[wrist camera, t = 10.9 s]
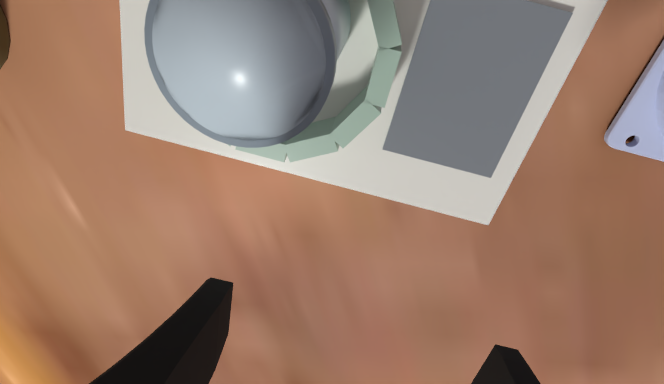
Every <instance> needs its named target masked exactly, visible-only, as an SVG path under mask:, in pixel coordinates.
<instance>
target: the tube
mask: <svg viewBox="0 0 664 384" xmlns="http://www.w3.org/2000/svg"><path fill="white" fill-rule="evenodd" d="M350 24H351V13H350V6H349V2H348V0H150V1H149V4H148V8H147V12H146V17H145V27H144V37H145V48H146V55H147V58H148V62H149V66H150V69H151V72H152V74H153V77H154V79H155V81H156V83H157V85H158V87H159V89H160V91H161V92H162V94H163V96H164V97H165V99H166V100H167V102H168V103H169V104H170V105H171V107H172V108H173V109H174V110H175V111H176V112H177V113H178V114H179V115H180V116H181V117H182V118H183V119H184V120H185V121H186V122H187V123H188V124H190V125H191V126H192V127H193V128H195V129H196V130H198V131H199V132H201V133H203V134H204V135H206V136H208V137H210V138H212V139H214V140H217V141H219V142H222V143H225V144H229V145H233V146H238V147H245V148H260V147H268V146H272V145H276V144H280V143H282V142H284V141H287V140H289V139H291V138H293V137H294V136H296V135H298V134H299V133H300V132H302V131H303V130H304V129H306V128H307V127H308V126H309V125H310V124H311V123H312V122H313V120H314V119H315V118H316V117H317V115H318V114H319V112H320V111H321V109H322V107H323V106H324V104H325V102H326V100H327V97H328V95H329V93H330V90H331V87H332V85H333V82H334V77H335V73H336V64H337V60H338V58H339V56H340V54H341V52H342V50H343V48H344V46H345V44H346V42H347V39H348V36H349V31H350Z"/></svg>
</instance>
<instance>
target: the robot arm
mask: <svg viewBox="0 0 664 384" xmlns="http://www.w3.org/2000/svg"><path fill="white" fill-rule="evenodd" d="M630 136H635V137H634V140H633V141H631V142H629V143H625V142H626V139H627V138H629V137H630ZM604 140H605V142H606V143H607V144H608V145H609V146H610V147H612V148H614V149H618V150H622V151H626V152H630V153H633V154H637V155H641V156H645V157H649V158H652V159H656V160H660V161H664V40H663V42H662V43H661V45H660V46H659V48H658V50H657V51H656V53H655V54H654V56H653V58H652V59H651V61H650V62H649V64H648V66H647V67H646V69H645V70H644V72H643V74H642V75H641V77H640V78H639V80H638V82H637V83H636V85H635V86H634V88H633V90H632V91H631V93H630V94H629V96H628V98H627V99H626V101H625V102H624V104H623V106H622V107H621V109H620V110H619V112H618V114H617V115H616V117H615V118H614V120H613V122H612V123H611V125H610V126H609V128H608V130H607V131H606V133H605V136H604ZM232 291H233V283H232V282H228V281H223V280H219V279H215V278H210V279H208V280H206V281H205V282H204V284H203V285H202V286H201V287H200V288H199V289H198V290H197V291H196V292H195V293H194V294H193V295H192V296H191V297H190V298H189V299H188V300H187V301H186V302H185V303H184V304H183V305H182V306H181V307H180V308H179V309H178V310H177V311H176V312H175V313H174V314H173V315H172V316H171V317H169V318H168V319H167V320H166V321H165V322H164V323H163V324H162V325H161V326H160V327H158V328H157V329H156V330H155V331H154V332H153V333H152V334H151V335H150V336H148V337H147V338H146V339H145V340H144V341H143V342H141V343H140V344H139V345H138V346H136V347H135V348H134V349H133V350H132V351H130V352H129V353H128V354H127V355H126V356H124V357H123V358H122V359H121V360H119V361H118V362H117V363H116V364H114V365H113V366H112V367H111V368H109V369H108V370H107V371H105V372H104V373H103V374H101V375H100V376H99V377H97V378H96V379H95V380H93V381H92V382H91V383H89V384H209V381H210V379H211V377H212V375H213V373H214V371H215V369H216V366H217V363H218V361H219V358H220V355H221V352H222V350H223V347H224V344H225V341H226V338H227V336H228V331H229V321H230V311H231V301H232ZM471 384H540V382H539V381H538V379H537V378H536V376H535V375H534V373H533V372H532V370H531V369H530V367H529V366H528V364H527V363H526V361H525V360H524V358H523V357H522V355H521V354H520V352H519V351H518V350H516V349H512V348H508V347H504V346H500V345H495V346H494V348H493V349H492V351H491V352H490V354H489V356H488V357H487V359H486V361H485V362H484V364H483V365H482V367H481V369H480V370H479V372H478V373H477V375H476V377H475V378H474V380H473V382H472V383H471Z"/></svg>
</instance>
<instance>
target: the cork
mask: <svg viewBox="0 0 664 384" xmlns="http://www.w3.org/2000/svg"><path fill="white" fill-rule="evenodd" d="M9 45H10V37H9V31H8V25H7V20H6V17H5V15H4V13H3V11H2V8H1V6H0V69H1V67H2V66H3V64H4V63H5V61H6V60H7V58H8V51H9Z"/></svg>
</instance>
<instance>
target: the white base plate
mask: <svg viewBox="0 0 664 384" xmlns="http://www.w3.org/2000/svg"><path fill="white" fill-rule="evenodd" d="M149 1H150V0H120V21H121V44H122V67H123V90H124V113H125V130H127V131H131V132H134V133H138V134H142V135H146V136H150V137H153V138H157V139H161V140H165V141H169V142H173V143H176V144H180V145H184V146H188V147H192V148H195V149H199V150H203V151H207V152H211V153H215V154H218V155H222V156H226V157H230V158H234V159H237V160H241V161H245V162H249V163H253V164H256V165H260V166H264V167H268V168H272V169H276V170H279V171H283V172H287V173H291V174H295V175H298V176H302V177H306V178H310V179H314V180H318V181H321V182H325V183H329V184H333V185H337V186H340V187H344V188H348V189H352V190H356V191H359V192H363V193H367V194H371V195H375V196H379V197H382V198H386V199H390V200H394V201H398V202H401V203H405V204H409V205H413V206H417V207H420V208H424V209H428V210H432V211H436V212H440V213H443V214H447V215H451V216H455V217H459V218H462V219H466V220H470V221H474V222H478V223H482V224H485V225H489V223H490V221H491V219H492V217H493V215H494V214H495V212H496V210H497V208H498V206H499V204H500V202H501V200H502V199H503V197H504V195H505V193H506V191H507V189H508V187H509V185H510V183H511V182H512V180H513V178H514V176H515V174H516V172H517V170H518V168H519V166H520V165H521V163H522V161H523V159H524V157H525V155H526V153H527V151H528V149H529V148H530V146H531V144H532V142H533V140H534V138H535V136H536V134H537V133H538V131H539V129H540V127H541V125H542V123H543V121H544V119H545V117H546V116H547V114H548V112H549V110H550V108H551V106H552V104H553V102H554V100H555V99H556V97H557V95H558V93H559V91H560V89H561V87H562V85H563V84H564V82H565V80H566V78H567V76H568V74H569V72H570V70H571V68H572V67H573V65H574V63H575V61H576V59H577V57H578V55H579V53H580V51H581V50H582V48H583V46H584V44H585V42H586V40H587V38H588V36H589V35H590V33H591V31H592V29H593V27H594V25H595V23H596V21H597V19H598V18H599V16H600V14H601V12H602V10H603V8H604V6H605V4H606V2H607V1H608V0H348V2H349V6H350V13H351V24H350V31H349V36H348V39H347V42H346V44H345V46H344V48H343V50H342V52H341V54H340V56H339V58H338V60H337V64H336V73H335V77H334V82H333V85H332V87H331V90H330V93H329V95H328V97H327V100H326V102H325V104H324V106H323V107H322V109H321V111H320V112H319V114H318V115H317V117H316V118H315V119H314V120H313V122H312V123H311V124H310V125H309V126H308V127H307V128H306V129H304V130H303V131H302V132H300V133H299V134H298V135H296V136H294V137H293V138H291V139H289V140H287V141H284V142H282V143H280V144H276V145H272V146H268V147H260V148H245V147H238V146H233V145H229V144H225V143H222V142H219V141H217V140H214V139H212V138H210V137H208V136H206V135H204V134H203V133H201V132H199V131H198V130H196V129H195V128H193V127H192V126H191V125H190V124H188V123H187V122H186V121H185V120H184V119H183V118H182V117H181V116H180V115H179V114H178V113H177V112H176V111H175V110H174V109H173V108H172V107H171V105H170V104H169V103H168V102H167V100H166V99H165V97H164V96H163V94H162V92H161V91H160V89H159V87H158V85H157V83H156V81H155V79H154V77H153V74H152V72H151V69H150V66H149V62H148V58H147V55H146V48H145V37H144V27H145V17H146V12H147V8H148V4H149Z"/></svg>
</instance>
